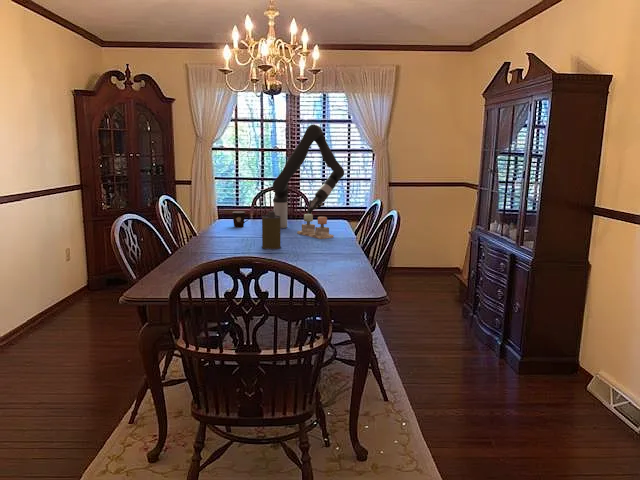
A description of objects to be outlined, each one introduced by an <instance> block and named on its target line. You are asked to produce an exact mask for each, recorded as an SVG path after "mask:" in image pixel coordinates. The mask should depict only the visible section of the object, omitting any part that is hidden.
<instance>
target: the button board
mask: <svg viewBox="0 0 640 480" xmlns="http://www.w3.org/2000/svg"><path fill="white" fill-rule="evenodd" d="M296 234H299V235H303V236H307V237H309V238H310V237H311V238H315V239H319V240H324V239H333V238H334V234H330V227H329V226H324V228H321V226H316V224H313V223H310V225H307V223H302V224H301V230H297V231H296Z"/></svg>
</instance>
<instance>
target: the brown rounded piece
mask: <svg viewBox="0 0 640 480" xmlns="http://www.w3.org/2000/svg"><path fill="white" fill-rule="evenodd" d="M317 225H320V227H321V228H324V227H325V225H328V217H327V216H318V217H317Z"/></svg>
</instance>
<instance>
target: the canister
mask: <svg viewBox="0 0 640 480" xmlns="http://www.w3.org/2000/svg"><path fill="white" fill-rule="evenodd" d="M261 219H262V220H261V231H262V232H261V240H262V241H261V242H262V243H261V244H262V246H261V248H262V249H263V248H264V250H279V249H281V246H282V245H281V228H280V224H281V216H278V215H275V212H274V210H273V211H271V210H269V211H268V210H267V214H266V215H262V216H261Z"/></svg>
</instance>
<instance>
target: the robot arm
mask: <svg viewBox="0 0 640 480" xmlns="http://www.w3.org/2000/svg"><path fill="white" fill-rule="evenodd" d="M314 142H315V144H316V145H317V147H318V149H319V151H320V154H321V157H322V159H323V161H324V163H325V165H326V167H328V168H330V169H331V171H332V172H331V173H330V175H329V176H328V178H327V179H326V180H324V183H323V184H322V185H321V186H320V187H319V188H318V190H317V191H316V193H315V194H314V197H313V199H309V201H308V207H309V208H308V210H307V211H306V213H307V214H312V213H313V211H315V210H318V209H320V208H321V207H322V206H324V203H323V202H326V200H327V199H328V197H329V196H330V195H331V193H332V191H333V190H334V189H335V187H336V186H337V184H338V183H339V181H340V180H341V179H342V178H343V177H344V176H345V170H344V168H343V167H342V165H341V164H340V163H339V161H338V160H337V159H336V156H335V155H334V153H333V152H332V150H331V148H330V146H329V144H328V142H327V140H326V138H325V134H324V131H323V129H322V127H321V126H319V125H317V124H315V123H313V124H309V126H307V128H306V130H305V131H304V134H303V136H302V138H301V140H300V142H299V143H298V144H297V146H296V147H295V149H294V150H293V151H292V153H291V154H290V156H289V158H288V159H287V161H286V163H285V165H284V167H283V169H282V170H281V172H280V173H279V175H278V176H277V177H276V178H275V179H274V181H273V183H272V189H273V191H274V197H273V211H274V212H275V215H278V216H281V224H280V229H283V228H288V199H289V182H290V180H291V178H292V176H293V175H294V174H296V172H298V170H299V169H300V167H301V166H302V165H303V163H304V162H305V160H306V158H307V156H308V152H309V149H310V147H311V146H312V144H313V143H314Z"/></svg>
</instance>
